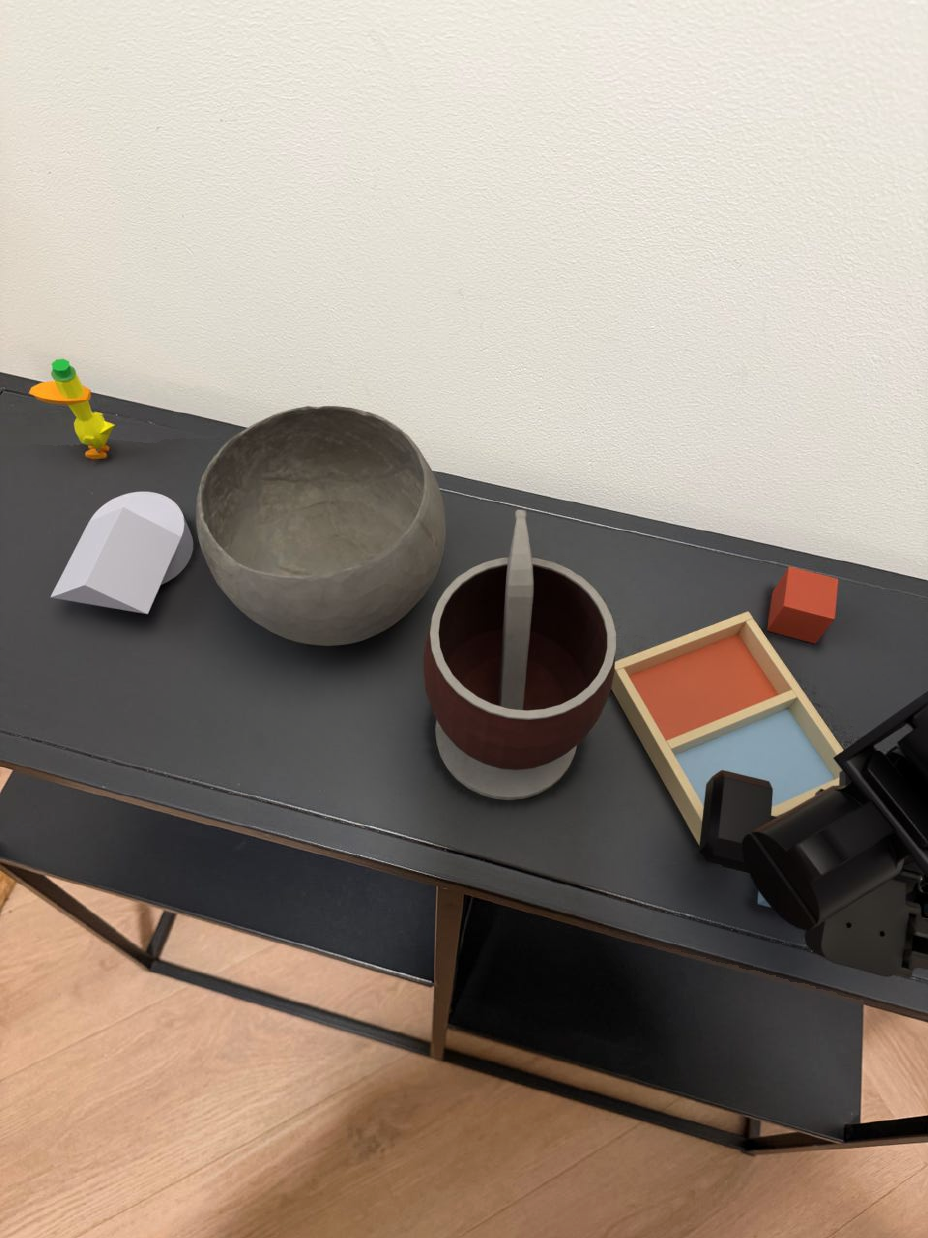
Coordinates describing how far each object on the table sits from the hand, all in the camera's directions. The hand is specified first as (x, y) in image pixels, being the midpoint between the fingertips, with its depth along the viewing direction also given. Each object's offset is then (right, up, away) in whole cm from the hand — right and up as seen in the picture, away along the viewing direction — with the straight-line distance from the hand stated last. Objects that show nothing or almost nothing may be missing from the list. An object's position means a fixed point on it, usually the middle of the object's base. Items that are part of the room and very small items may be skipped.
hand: (797, 876), depth 64 cm
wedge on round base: (-57, +25, +16) cm, 64 cm away
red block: (+5, +20, +14) cm, 25 cm away
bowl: (-38, +23, +15) cm, 47 cm away
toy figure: (-64, +37, +23) cm, 77 cm away
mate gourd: (-22, +11, +8) cm, 26 cm away
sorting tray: (-3, +10, +8) cm, 13 cm away
